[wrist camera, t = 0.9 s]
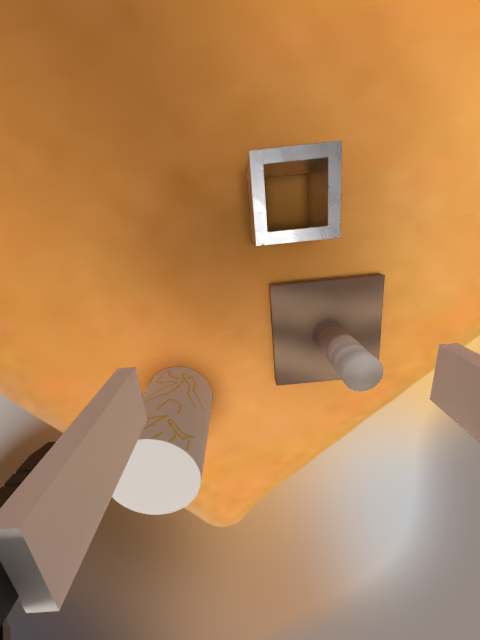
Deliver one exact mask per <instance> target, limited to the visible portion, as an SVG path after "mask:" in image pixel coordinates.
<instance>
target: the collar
mask: <svg viewBox="0 0 480 640" xmlns="http://www.w3.org/2000/svg"><path fill="white" fill-rule="evenodd" d="M341 160H342V141H333V142H324V143H314V144H305V145H296V146H286V147H277V148H267V149H258V150H249V154H248V160H247V167H246V172H247V185H248V197H249V210H250V222H251V235H252V243H253V244H254V245H256V246H261V245H271V244H281V243H291V242H301V241H311V240H321V239H331V238H340V217H341ZM307 173H308V178H309V227H308V228H298V229H288V230H278V231H268V232H267V218H266V202H265V186H264V178H269V177H279V176H288V175H298V174H307Z"/></svg>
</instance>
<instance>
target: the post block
mask: <svg viewBox="0 0 480 640" xmlns="http://www.w3.org/2000/svg"><path fill="white" fill-rule="evenodd" d="M384 278H385V275H383V274H368V275H358V276H348V277H338V278H328V279H318V280H307V281H297V282H287V283H277V284H269V290H270V305H271V321H272V337H273V352H274V368H275V381H276V385H287V384H298V383H309V382H320V381H330V380H341V379H342V380H343V381H344V383H345V384H346V385H347V386H348V387H349V388H350V389H352V390H355V391H366V390H369V389H371V388H373V387H375V386H376V385H377V384H378V383H379V382H380V380H381V378H382V376H383V366H382V364H381V363H380V361H379V350H380V336H381V321H382V307H383V292H384Z"/></svg>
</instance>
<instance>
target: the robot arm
mask: <svg viewBox="0 0 480 640" xmlns="http://www.w3.org/2000/svg"><path fill="white" fill-rule="evenodd" d="M430 400H431V401H432V402H434V403H435V404H436V405H437V406H438V407H439V408H440V409H442V410H443V411H444V412H445V413H446V414H447V415H448V416H450V417H451V418H452V419H453V420H454V421H455V422H456V423H458V424H459V425H460V426H461V427H462V428H463V429H464V430H466V431H467V432H468V433H469V434H470V435H471V436H472V437H474V438H475V439H476V440H477V441H478V442H479V443H480V355H479V354H477V353H475V352H473V351H471V350H469V349H467V348H466V347H464V346H462V345H460V344H458V343H454V344H441V345H439V350H438V356H437V361H436V367H435V373H434V379H433V384H432V390H431V395H430ZM146 421H147V417H146V412H145V408H144V403H143V399H142V394H141V390H140V385H139V381H138V376H137V372H136V367H133V368H120V369H117V370H116V372H115V373H114V374H113V375H112V376H111V377H110V379H109V380H108V381H107V382H106V383H105V385H104V386H103V387H102V388H101V389H100V391H99V392H98V393H97V394H96V395H95V396H94V398H93V399H92V400H91V401H90V402H89V404H88V405H87V406H86V407H85V408H84V410H83V411H82V412H81V413H80V414H79V415H78V417H77V418H76V419H75V420H74V421H73V423H72V424H71V425H70V426H69V427H68V429H67V430H66V431H65V432H64V433H63V434H62V436H61V437H60V438H59V439H58V441H57V442H48V443H47V444H45V445H44V446H43V447H41V448H40V449H39V450H37V451H36V452H34V453H33V454H32V455H30V456H29V457H28V459H27V460H26V461H25V462H24V463H23V464H22V465H21V466H20V468H19V469H18V470H17V472H16V474H13V475H12V476H11V477H10V478H9V480H8V481H7V482H6V483H5V486H4V487H1V489H0V640H10V626H9V623H8V620H7V618H6V617H7V615H8V614H9V612H10V610H11V608H12V607H13V605H14V603H15V602H16V600H17V598H18V599H19V600H20V602H21V604H22V606H23V608H24V610H25V611H26V613H32V612H48V611H59V610H60V607H61V605H62V603H63V601H64V599H65V597H66V594H67V592H68V590H69V588H70V586H71V584H72V582H73V579H74V577H75V575H76V573H77V571H78V569H79V566H80V564H81V562H82V559H83V558H84V556H85V553H86V551H87V549H88V547H89V544H90V543H91V541H92V538H93V536H94V534H95V532H96V530H97V527H98V525H99V523H100V521H101V519H102V517H103V515H104V512H105V510H106V508H107V506H108V504H109V502H110V499H111V497H112V495H113V493H114V491H115V489H116V486H117V484H118V482H119V480H120V478H121V476H122V473H123V471H124V469H125V467H126V465H127V463H128V460H129V458H130V456H131V454H132V452H133V450H134V447H135V445H136V443H137V441H138V439H139V437H140V434H141V432H142V430H143V428H144V426H145V424H146Z"/></svg>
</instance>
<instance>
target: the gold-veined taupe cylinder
mask: <svg viewBox="0 0 480 640" xmlns="http://www.w3.org/2000/svg"><path fill="white" fill-rule="evenodd" d="M142 399H143V403H144V408H145V412H146V417H147V421H146V424H145V426H144V428H143V430H142V432H141V434H140V437H139V439H138V441H137V443H136V445H135V447H134V450H133V452H132V454H131V456H130V458H129V460H128V463H127V465H126V467H125V469H124V471H123V473H122V476H121V478H120V480H119V482H118V484H117V486H116V489H115V491H114V493H113V495H112V497H113V498H114V499H115V500H116V501H117V502H118V503H120V504H121V505H123V506H125V507H126V508H128V509H131V510H133V511H136V512H140V513H144V514H153V515H156V514H167V513H171V512H175V511H177V510H180V509H182V508H184V507H185V506H187V505H188V504H189V503H190V502H191V501H192V500H193V499H194V498H195V497H196V495H197V494H198V491H199V489H200V485H201V478H202V471H203V464H204V457H205V450H206V442H207V435H208V428H209V421H210V414H211V407H212V400H213V393H212V389H211V386H210V384H209V382H208V381H207V380H206V379H205V377H203V376H202V375H201V374H200V373H198V372H197V371H195V370H192V369H190V368H186V367H171V368H167V369H164V370H162V371H160V372H159V373H158V374H156V375H155V376H154V377H153V379H152V380H151V382H150V383H149V385H148V387H147V389H146V390H145V392H144V394H143V396H142Z"/></svg>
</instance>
